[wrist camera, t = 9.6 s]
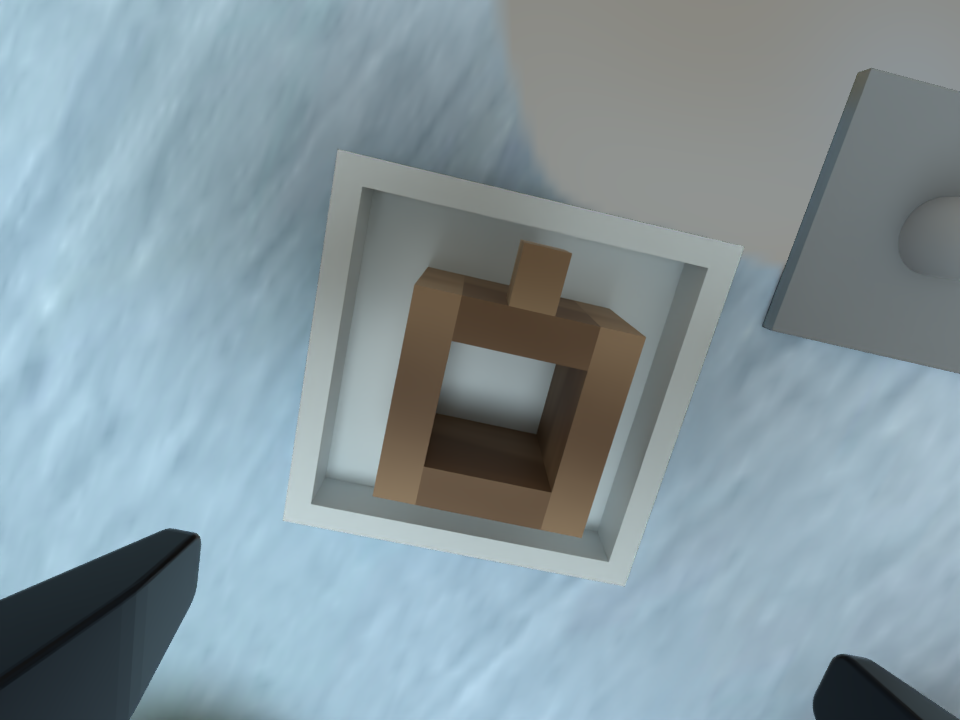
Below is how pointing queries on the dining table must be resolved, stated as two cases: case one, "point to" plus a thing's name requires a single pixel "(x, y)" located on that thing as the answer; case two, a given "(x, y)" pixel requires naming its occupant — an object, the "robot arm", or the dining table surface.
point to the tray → (491, 355)
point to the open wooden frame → (497, 450)
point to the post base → (882, 229)
